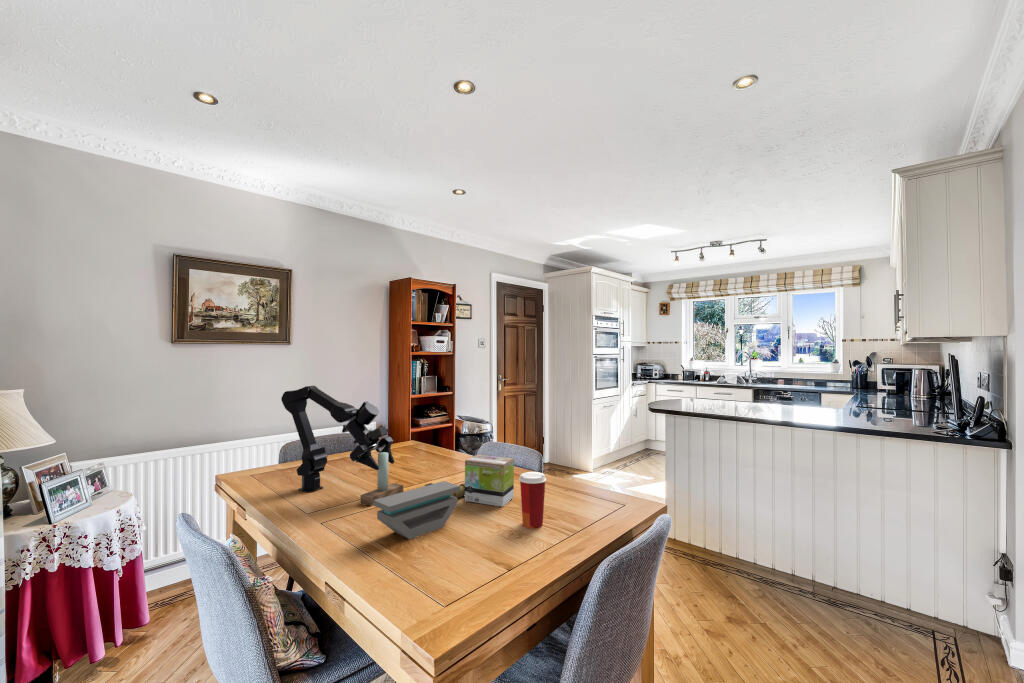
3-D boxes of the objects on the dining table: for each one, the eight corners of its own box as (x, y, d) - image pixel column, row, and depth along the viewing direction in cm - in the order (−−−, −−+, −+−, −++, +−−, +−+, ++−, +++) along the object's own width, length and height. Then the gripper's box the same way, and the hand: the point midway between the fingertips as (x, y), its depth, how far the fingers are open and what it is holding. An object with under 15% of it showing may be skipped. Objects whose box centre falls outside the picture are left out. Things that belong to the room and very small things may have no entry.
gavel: (414, 482, 169) (435, 476, 176) (414, 494, 169) (435, 488, 176) (449, 490, 155) (470, 483, 162) (449, 503, 154) (471, 496, 162)
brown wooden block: (370, 506, 151) (371, 497, 151) (360, 504, 153) (360, 495, 153) (403, 493, 165) (403, 485, 165) (393, 491, 167) (393, 483, 167)
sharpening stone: (389, 547, 119) (389, 506, 119) (373, 539, 124) (373, 500, 125) (459, 521, 137) (459, 485, 138) (443, 515, 143) (443, 481, 143)
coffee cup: (549, 521, 137) (549, 472, 137) (542, 531, 129) (542, 479, 130) (523, 518, 140) (523, 470, 140) (515, 528, 132) (514, 477, 132)
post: (376, 491, 157) (376, 454, 158) (378, 488, 161) (379, 452, 161) (386, 491, 157) (386, 454, 158) (388, 488, 161) (389, 452, 161)
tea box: (463, 502, 155) (463, 459, 155) (476, 493, 164) (476, 453, 165) (503, 507, 149) (503, 463, 150) (514, 498, 159) (514, 457, 159)
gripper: (356, 422, 152) (384, 457, 148) (388, 415, 170) (414, 446, 166) (337, 444, 155) (364, 478, 151) (371, 434, 172) (395, 465, 168)
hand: (386, 466), depth 159 cm, fingers open, 9 cm apart
